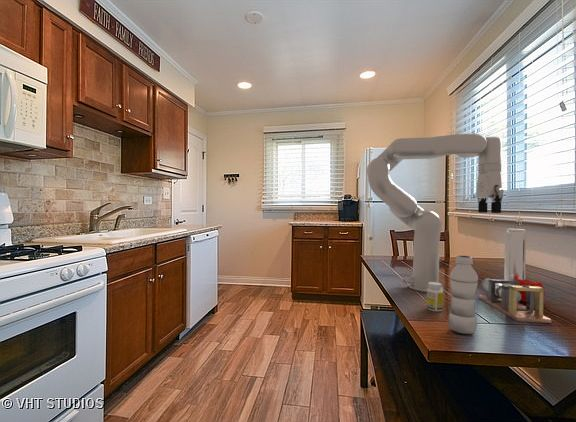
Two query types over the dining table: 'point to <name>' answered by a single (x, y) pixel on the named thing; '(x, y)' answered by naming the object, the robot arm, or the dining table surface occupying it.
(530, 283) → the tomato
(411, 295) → the dining table surface
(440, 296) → the supplement bottle
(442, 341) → the dining table surface
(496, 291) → the air tube
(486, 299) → the collar rail
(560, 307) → the dining table surface
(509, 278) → the air filter
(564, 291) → the dining table surface
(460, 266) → the plastic bottle
